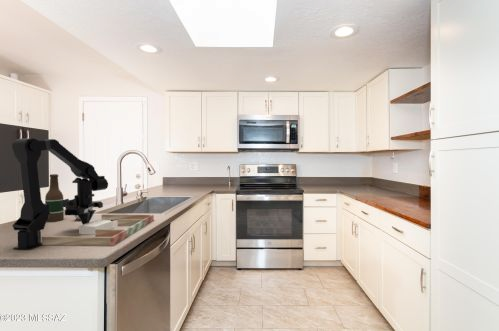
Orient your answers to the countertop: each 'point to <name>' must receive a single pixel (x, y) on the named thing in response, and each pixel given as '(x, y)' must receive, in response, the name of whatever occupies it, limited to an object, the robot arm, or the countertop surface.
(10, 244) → the countertop surface
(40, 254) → the countertop surface
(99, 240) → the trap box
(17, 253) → the countertop surface
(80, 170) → the robot arm
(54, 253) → the countertop surface
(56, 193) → the beer bottle
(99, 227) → the white rectangular box
